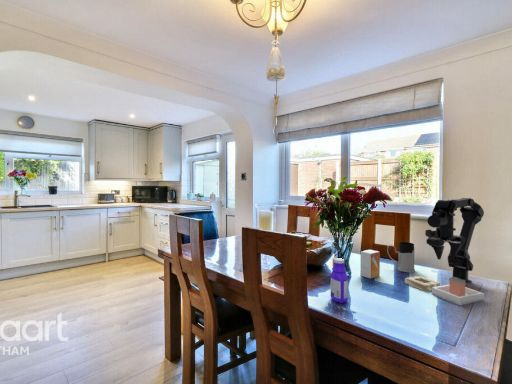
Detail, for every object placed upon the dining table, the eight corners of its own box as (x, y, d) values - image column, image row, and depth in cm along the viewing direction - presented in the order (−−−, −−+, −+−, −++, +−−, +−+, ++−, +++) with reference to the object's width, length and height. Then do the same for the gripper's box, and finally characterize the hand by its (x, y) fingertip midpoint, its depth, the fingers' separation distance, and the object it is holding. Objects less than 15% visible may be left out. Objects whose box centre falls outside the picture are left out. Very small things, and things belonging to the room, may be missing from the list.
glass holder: (416, 273, 149) (417, 245, 149) (388, 270, 154) (388, 243, 154) (413, 268, 158) (413, 242, 157) (386, 266, 162) (386, 240, 162)
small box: (370, 278, 141) (370, 253, 140) (360, 275, 146) (360, 251, 146) (380, 276, 145) (380, 251, 145) (369, 272, 150) (369, 249, 150)
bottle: (350, 302, 113) (350, 260, 112) (340, 305, 110) (340, 262, 110) (338, 296, 119) (338, 256, 119) (327, 298, 117) (327, 257, 116)
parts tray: (454, 290, 125) (454, 283, 125) (484, 300, 113) (484, 293, 113) (431, 294, 120) (431, 287, 120) (459, 305, 109) (459, 297, 109)
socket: (419, 280, 137) (419, 275, 137) (440, 288, 127) (440, 283, 127) (405, 283, 134) (405, 278, 134) (425, 291, 124) (425, 285, 124)
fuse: (454, 292, 120) (454, 276, 119) (465, 296, 115) (465, 280, 115) (449, 293, 119) (449, 277, 118) (459, 297, 114) (460, 281, 114)
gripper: (443, 222, 141) (443, 252, 141) (416, 224, 135) (416, 256, 135) (466, 225, 130) (466, 257, 131) (438, 228, 124) (437, 262, 125)
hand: (446, 258), depth 130 cm, fingers open, 9 cm apart
